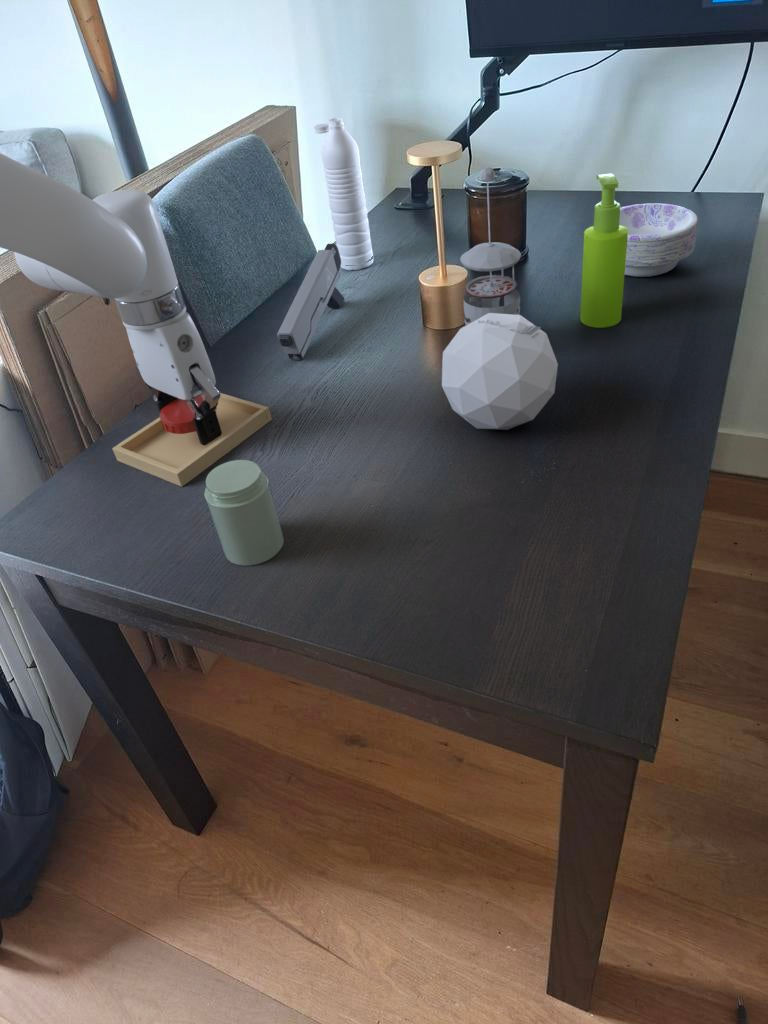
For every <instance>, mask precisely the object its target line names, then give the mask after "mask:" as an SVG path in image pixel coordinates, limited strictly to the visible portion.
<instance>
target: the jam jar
mask: <svg viewBox="0 0 768 1024" xmlns="http://www.w3.org/2000/svg"><path fill="white" fill-rule="evenodd" d="M205 486H206V487H205V489H204V495H203V496H204V498H205V501H206V504H207V508H208V510H209V513H210V516H211V519H212V522H213V526H214V528H215V531H216V533H217V537H218V540H219V542H220V546H221V549H222V551H223V552H222V553H223V554H224V557H225V559H227V561H229V562H230V563H232V564H234V565H238V566H245V567H250V566H256V565H259V564H263V563H265V562H268V561H269V560H271V559H273V558H274V557H275V556H276V555H277V554H278V553H279V552H280V551H281V549H283V546H284V542H285V538H284V537H285V536H284V533H283V530H282V529H283V528H282V526H281V521H280V519H279V515H278V511H277V507H276V504H275V499H274V496H273V491H272V488H271V486H270V481H269V478H268V476H267V474H266V473H264V472H263V470H262V468H261V466H260V465H259V464H257V463H256V462H255V461H252V460H248V459H234V460H229V461H227V462H224V463H221V464H219V465H218V466H215V467H214V468H213V469H212V470H211V471H209V473H208V474H207V476H206V477H205Z"/></svg>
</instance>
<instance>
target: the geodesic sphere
mask: <svg viewBox="0 0 768 1024" xmlns="http://www.w3.org/2000/svg"><path fill="white" fill-rule="evenodd" d="M541 328H542V326H539V325H535V324H534V323H532V322H531V321H529V320H528V319H527V318H525V317H524V316H523V315H521V314H520V315H511V314H498V313H488V314H486V315H484V316H483V317H481V318H479V319H477V320H475V321H473V322H472V323H470V324H468V325H466V326H465V325H464V326H462V327H461V328H459V330H458V331H457V333H456V334H455V335H454V337H452V339H451V340H450V342H449V343H448V344H447V346H446V347H445V349H444V350H443V351H442V365H441V366H442V367H441V387H442V389H443V392H444V394H445V396H446V398H447V400H448V403H449V405H450V407H451V409H452V411H453V412H455V413H456V414H457V415H458V416H460V417H461V418H462V419H464V420H465V421H466V422H468V424H470V425H471V426H473V427H474V428H475V429H478V430H502V431H508V430H511V429H514V428H516V427H518V426H520V425H523V424H526V423H528V422H531V421H533V420H535V418H537V415H538V414H539V413H540V412H541V410H542V409H543V408H544V407H545V405H546V404H547V403H548V402H549V401H550V399H551V398H552V396H553V395H555V391H556V382H557V375H558V368H559V363H558V361H557V358H556V355H555V352H554V350H553V347H552V345H551V341H550V339H549V336H548V334H547V333H546V332H545V331H543V330H542V329H541Z"/></svg>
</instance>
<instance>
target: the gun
mask: <svg viewBox="0 0 768 1024" xmlns="http://www.w3.org/2000/svg"><path fill="white" fill-rule="evenodd" d="M340 266H341V258H340V254H339V250H338V247H337V246H336V243H327V244H326V246H325V248H324V249H318V251H317V252H316V254H315V256H314V258H313V260H312V262H311V264H310V266H309V268H308V271H307V272H306V275H305V276H304V279H303V280H302V283H301V285H300V287H299V288H298V290H297V293H296V295H295V297H294V299H293V301H292V303H291V305H290V307H289V308H288V311H287V313H286V315H285V317H284V319H283V322H282V323H281V326H280V327H279V329H278V332H277V334H276V336H277V338H278V341H279V343H280V347H281V349H282V352H283V354H284V355H287V356H288V359H290V360H291V361H302V360H303V359H304V357H305V355H306V352H307V350H308V348H309V346H310V344H311V341H312V339H313V337H314V335H315V332H316V330H317V328H318V326H319V324H320V322H321V319H322V317H323V315H324V312H325V310H326V308H327V307H328V308H330V309H340V308H342V306H343V305H344V301H345V296H343V294H342V293H341V291H340V290H339V289H338V288H337V287H336V286H337V284H338V281H339V279H340V277H341V275H340V270H341V267H340Z"/></svg>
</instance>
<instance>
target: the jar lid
mask: <svg viewBox="0 0 768 1024" xmlns="http://www.w3.org/2000/svg"><path fill="white" fill-rule="evenodd" d="M194 400H195V402H196V404H197V406H198V407H199V406H200V405H201V403H202V402H203V401H204V400H203V398H202V397H201V396H200V395H199V396H198V397H196V398H194ZM215 412H216V410H215ZM159 417H160V419H161V422H162V425H163V428H164V429H165V430H166V431H167V432H170V433H174V434H186V433H191V432H195V431H196V429H195V426H194V423H193V420H192V419H193V418H195V416H194V414H193V413H192V411H191V409H190V408H189V406H188V404H187V403H186V401H185V400H183V399H176V400H174V401H172V402H171V403H169V404H167V405H166V406H165V407H164V408H163V409H162V410H161V412H159Z"/></svg>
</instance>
